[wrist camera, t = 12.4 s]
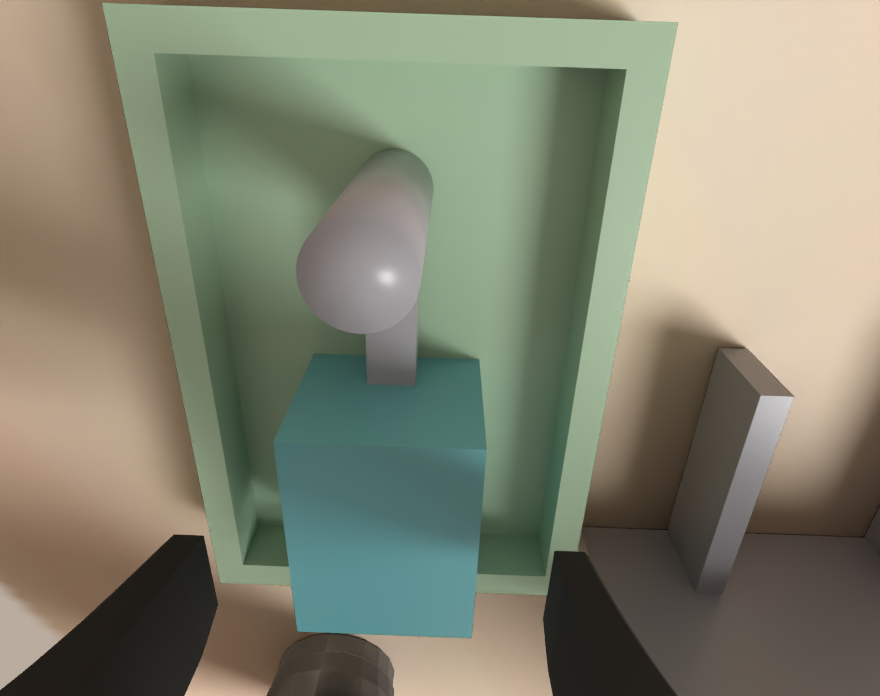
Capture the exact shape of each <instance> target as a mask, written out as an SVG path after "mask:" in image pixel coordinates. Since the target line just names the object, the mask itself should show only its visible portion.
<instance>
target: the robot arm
mask: <svg viewBox="0 0 880 696" xmlns="http://www.w3.org/2000/svg"><path fill="white" fill-rule="evenodd" d="M217 606H218V602H217V598H216V593H215V588H214V583H213V578H212V574H211V569H210V564H209V559H208V554H207V550H206V545H205V540H204V536H197V535H173V536H172V537H171V538H170V539H169V540H168V541H167V542H165V543H164V544H163V545H162V546H161V547H160V548H159V549H158V550H157V551H156V552H155V553H154V554H153V555H152V556H151V557H150V558H149V559H148V560H147V561H146V562H145V563H144V564H142V565H141V566H140V567H139V568H138V569H137V570H136V571H135V572H134V573H133V574H132V575H131V576H130V577H129V578H128V579H127V580H126V581H125V582H124V583H123V584H122V585H121V586H120V587H118V588H117V589H116V590H115V591H114V592H113V593H112V594H111V595H110V596H109V597H108V598H107V599H106V600H105V601H103V602H102V603H101V604H100V605H99V606H98V607H97V608H96V609H95V610H94V611H93V612H91V613H90V614H89V615H88V616H87V617H86V618H85V619H84V620H83V621H82V622H81V623H80V624H78V625H77V626H76V627H75V628H74V629H73V630H72V631H71V632H69V633H68V634H67V635H66V636H65V637H64V638H62V639H61V640H60V641H59V642H58V643H57V644H55V645H54V646H53V647H52V648H51V649H50V650H48V651H47V652H46V653H45V654H44V655H43V656H41V657H40V658H39V659H38V660H37V661H36V662H35V663H33V664H32V665H31V666H30V667H28V668H27V669H26V670H25V671H23V673H21V674H20V675H19V676H17V677H16V678H15V679H14V680H12V681H11V682H10V683H9V684H7V685H6V686H5V687H4V688H2V689H1V690H0V696H184V695H185V693H186V691H187V689H188V686H189V684H190V682H191V680H192V677H193V675H194V673H195V671H196V668H197V666H198V664H199V661H200V659H201V657H202V654H203V651H204V648H205V645H206V642H207V639H208V636H209V633H210V629H211V626H212V623H213V619H214V616H215V613H216V610H217ZM543 622H544V633H545V644H546V654H547V664H548V672H549V678H550V683H551V688H552V693H553V696H678V695H677V694H676V693H675V691H674V690H673V688H672V687H671V686H670V684H669V683H668V682H667V680H666V679H665V678H664V676H663V675H662V673H661V672H660V671H659V669H658V668H657V666H656V665H655V663H654V662H653V661H652V659H651V658H650V656H649V655H648V653H647V652H646V650H645V649H644V647H643V646H642V644H641V643H640V641H639V640H638V638H637V637H636V635H635V634H634V632H633V631H632V629H631V628H630V626H629V625H628V623H627V621H626V620H625V618H624V617H623V615H622V613H621V612H620V610H619V609H618V607H617V605H616V604H615V602H614V600H613V599H612V597H611V595H610V594H609V592H608V590H607V588H606V587H605V585H604V583H603V581H602V580H601V578H600V576H599V574H598V573H597V571H596V569H595V567H594V565H593V563H592V561H591V560H590V558H589V556H588V555H587V554H586V553H585V552H576V551H554V556H553V562H552V568H551V575H550V581H549V587H548V593H547V599H546V605H545V611H544V617H543Z"/></svg>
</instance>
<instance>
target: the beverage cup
mask: <svg viewBox="0 0 880 696" xmlns="http://www.w3.org/2000/svg"><path fill="white" fill-rule="evenodd" d="M393 677H394V669H393V666H392V664H391V661H390V659H389V658H388V657H387V656H386V655H385V654H384V653H383V652H382V651H381V650H380V649H379V648H377V647H376V646H374V645H372V644H371V643H369V642H367V641H365V640H362V639H359V638H355V637H352V636H349V635H339V634H323V635H315V636H310V637H308V638H305V639H303V640H300V641H297V642H296V643H295V644H293V645H292V646H291V647H290V648H289V649H287V650H286V652H285V654H284V656H283V658H282V660H281V662H280V666H279V669H278V673H277V675H276V677H275V679H274V681H273V684H272V686H271V688H270V689H269V691H268V693H267V695H266V696H394V688H393Z"/></svg>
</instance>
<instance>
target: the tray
mask: <svg viewBox="0 0 880 696" xmlns="http://www.w3.org/2000/svg"><path fill="white" fill-rule="evenodd" d="M102 6H103V11H104V16H105V20H106V25H107V30H108V35H109V40H110V45H111V50H112V55H113V60H114V65H115V70H116V74H117V79H118V84H119V89H120V94H121V99H122V104H123V109H124V114H125V119H126V124H127V128H128V133H129V138H130V143H131V148H132V153H133V158H134V163H135V168H136V173H137V178H138V182H139V187H140V192H141V197H142V202H143V207H144V212H145V217H146V222H147V227H148V232H149V236H150V241H151V246H152V251H153V256H154V261H155V266H156V271H157V276H158V281H159V286H160V290H161V295H162V300H163V305H164V310H165V315H166V320H167V325H168V330H169V335H170V340H171V344H172V349H173V354H174V359H175V364H176V369H177V374H178V379H179V384H180V389H181V394H182V398H183V403H184V408H185V413H186V418H187V423H188V428H189V433H190V438H191V443H192V448H193V453H194V457H195V462H196V467H197V472H198V477H199V482H200V487H201V492H202V497H203V502H204V507H205V511H206V516H207V521H208V526H209V531H210V536H211V541H212V546H213V551H214V556H215V561H216V565H217V570H218V575H219V580H220V583H237V584H263V585H289V586H291V578H290V570H289V563H288V555H287V547H286V539H285V531H284V523H283V515H282V507H281V500H280V492H279V484H278V476H277V468H276V460H275V452H274V444H273V442H274V440H275V437H276V435H277V433H278V431H279V429H280V426H281V424H282V422H283V420H284V418H285V416H286V413H287V411H288V409H289V407H290V405H291V402H292V400H293V398H294V396H295V394H296V392H297V389H298V387H299V385H300V383H301V381H302V378H303V376H304V374H305V372H306V370H307V367H308V365H309V363H310V361H311V359H312V357H313V354H339V355H366V335H365V334H357V333H350V332H345V331H342V330H339V329H337V328H334V327H332V326H330V325H329V324H327V323H325V322H324V321H322V320H321V319H320V318H319V317H317V316H316V315H315V314H314V313H313V312H312V311H311V309H310V308H309V307H308V305H307V304H306V302H305V301H304V299H303V297H302V295H301V293H300V290H299V287H298V284H297V278H296V264H297V258H298V254H299V252H300V249H301V247H302V245H303V243H304V242H305V240H306V239H307V237H308V236H309V235H310V233H311V232H312V231H313V230H314V228H315V227H316V226H317V224H318V223H319V222H320V220H321V219H322V218H323V217H324V215H325V214H326V213H327V211H328V210H329V209H330V208H331V206H332V205H333V204H334V202H335V201H336V200H337V198H338V197H339V196H340V195H341V193H342V192H343V191H344V189H345V188H346V187H347V185H348V184H349V183H350V182H351V180H352V179H353V178H354V176H355V175H356V174H357V173H358V171H359V170H360V169H361V167H362V166H363V165H364V163H365V162H366V161H367V160H368V159H369V158H370V157H371V156H373V155H374V154H376V153H378V152H380V151H382V150H386V149H402V150H406V151H408V152H411V153H413V154H414V155H416V156H417V157H419V158H420V159H421V160H422V161H423V162H424V164H425V165H426V166H427V168H428V169H429V171H430V174H431V176H432V180H433V189H434V190H433V199H432V206H431V213H430V220H429V227H428V234H427V242H426V249H425V256H424V263H423V270H422V277H421V284H420V290H419V295H418V357H425V358H453V359H479V360H480V373H481V385H482V397H483V409H484V421H485V433H486V446H487V454H486V467H485V479H484V492H483V504H482V516H481V529H480V541H479V553H478V566H477V578H476V590H475V593H496V594H522V595H547V593H548V587H549V581H550V575H551V568H552V562H553V556H554V551H576V552H577V551H578V545H579V540H580V535H581V530H582V524H583V519H584V514H585V509H586V504H587V498H588V493H589V488H590V483H591V477H592V472H593V467H594V462H595V456H596V451H597V446H598V441H599V435H600V430H601V425H602V420H603V414H604V409H605V404H606V399H607V393H608V388H609V383H610V378H611V372H612V367H613V362H614V357H615V351H616V346H617V341H618V336H619V330H620V325H621V320H622V315H623V309H624V304H625V299H626V294H627V288H628V283H629V278H630V273H631V268H632V262H633V257H634V252H635V247H636V241H637V236H638V231H639V226H640V220H641V215H642V210H643V205H644V199H645V194H646V189H647V184H648V178H649V173H650V168H651V163H652V157H653V152H654V147H655V142H656V136H657V131H658V126H659V121H660V115H661V110H662V105H663V100H664V94H665V89H666V84H667V79H668V73H669V68H670V63H671V58H672V52H673V47H674V42H675V37H676V31H677V26H678V22H652V21H623V20H593V19H564V18H534V17H505V16H475V15H446V14H416V13H387V12H357V11H328V10H298V9H269V8H239V7H210V6H180V5H151V4H121V3H102Z"/></svg>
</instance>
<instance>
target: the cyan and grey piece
mask: <svg viewBox="0 0 880 696" xmlns="http://www.w3.org/2000/svg"><path fill="white" fill-rule="evenodd" d="M433 190H434V189H433V180H432V176H431V174H430V171H429V169H428V168H427V166H426V165H425V164H424V162H423V161H422V160H421V159H420V158H419V157H417V156H416V155H414V154H413V153H411V152H408V151H406V150H402V149H386V150H382V151H380V152H378V153H376V154H374V155H373V156H371V157H370V158H369V159H368V160H367V161H366V162H365V163H364V165H363V166H362V167H361V169H360V170H359V171H358V173H357V174H356V175H355V176H354V178H353V179H352V180H351V182H350V183H349V184H348V185H347V187H346V188H345V189H344V191H343V192H342V193H341V195H340V196H339V197H338V198H337V200H336V201H335V202H334V204H333V205H332V206H331V208H330V209H329V210H328V211H327V213H326V214H325V215H324V217H323V218H322V219H321V220H320V222H319V223H318V224H317V226H316V227H315V228H314V230H313V231H312V232H311V233H310V235H309V236H308V237H307V239H306V240H305V242H304V243H303V245H302V247H301V249H300V252H299V254H298V258H297V264H296V278H297V284H298V287H299V290H300V293H301V295H302V297H303V299H304V301H305V302H306V304H307V305H308V307H309V308H310V309H311V311H312V312H313V313H314V314H315V315H316V316H317V317H319V318H320V319H321V320H322V321H324V322H325V323H327V324H329V325H330V326H332V327H334V328H337V329H339V330H342V331H345V332H350V333H357V334H365V335H366V355H339V354H313V357H312V359H311V361H310V363H309V365H308V367H307V370H306V372H305V374H304V376H303V378H302V381H301V383H300V385H299V387H298V389H297V392H296V394H295V396H294V398H293V400H292V402H291V405H290V407H289V409H288V411H287V413H286V416H285V418H284V420H283V422H282V424H281V426H280V429H279V431H278V433H277V435H276V437H275V440H274V442H273V444H274V452H275V460H276V468H277V476H278V484H279V492H280V500H281V507H282V515H283V523H284V531H285V539H286V547H287V555H288V563H289V570H290V578H291V586H292V594H293V602H294V610H295V618H296V626H297V632H322V633H348V634H375V635H401V636H428V637H454V638H472V628H473V615H474V603H475V590H476V578H477V566H478V553H479V541H480V529H481V516H482V504H483V492H484V479H485V467H486V454H487V446H486V433H485V421H484V409H483V397H482V385H481V373H480V360H479V359H453V358H425V357H418V295H419V290H420V284H421V277H422V270H423V263H424V256H425V249H426V242H427V234H428V227H429V220H430V213H431V206H432V199H433Z"/></svg>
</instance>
